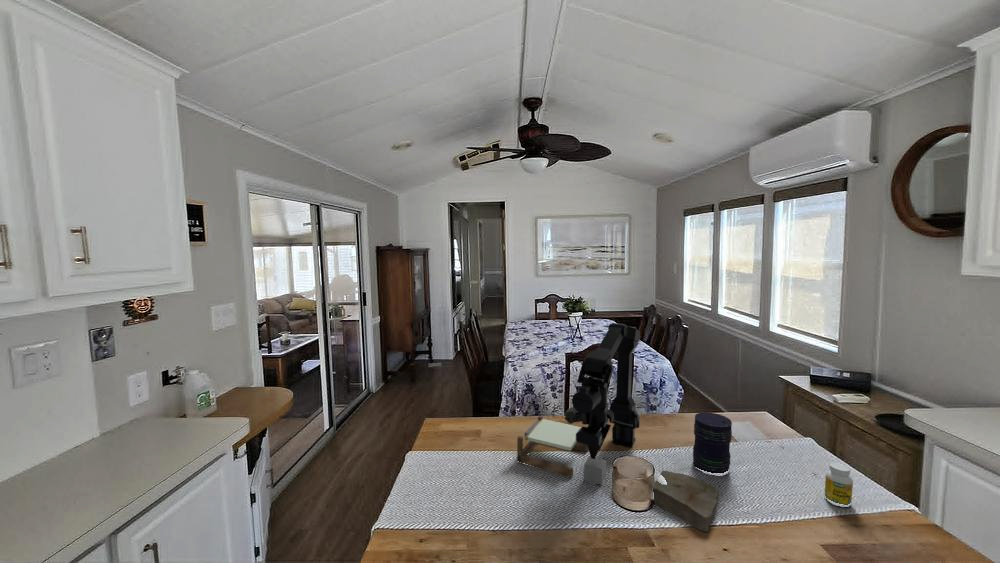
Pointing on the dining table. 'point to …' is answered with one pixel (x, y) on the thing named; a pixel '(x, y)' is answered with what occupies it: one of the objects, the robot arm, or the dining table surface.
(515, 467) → the dining table surface
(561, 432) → the trapdoor
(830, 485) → the supplement bottle
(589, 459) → the gray cube
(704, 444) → the storage jar
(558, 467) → the frame
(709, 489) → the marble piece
